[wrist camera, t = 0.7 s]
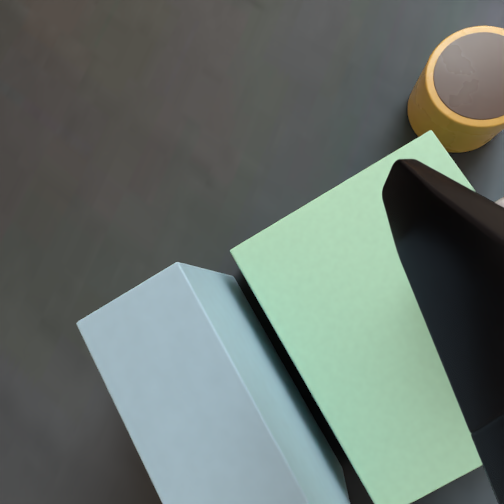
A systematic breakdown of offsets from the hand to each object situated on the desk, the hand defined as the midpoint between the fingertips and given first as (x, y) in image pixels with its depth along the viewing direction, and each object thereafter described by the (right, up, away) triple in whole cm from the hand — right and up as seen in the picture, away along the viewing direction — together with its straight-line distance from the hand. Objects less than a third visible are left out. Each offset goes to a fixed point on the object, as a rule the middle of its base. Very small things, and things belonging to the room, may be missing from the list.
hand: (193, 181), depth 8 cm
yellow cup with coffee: (+13, +7, +15) cm, 21 cm away
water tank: (+1, -9, +15) cm, 17 cm away
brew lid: (+8, -4, +10) cm, 13 cm away
